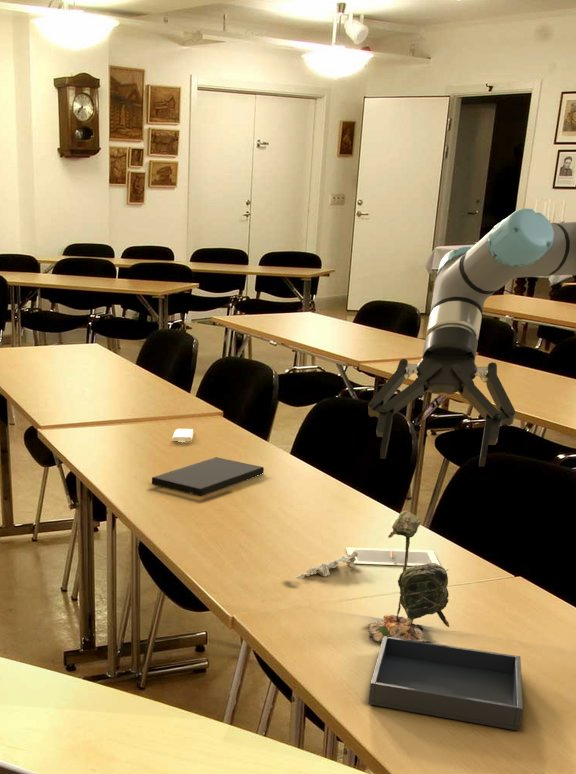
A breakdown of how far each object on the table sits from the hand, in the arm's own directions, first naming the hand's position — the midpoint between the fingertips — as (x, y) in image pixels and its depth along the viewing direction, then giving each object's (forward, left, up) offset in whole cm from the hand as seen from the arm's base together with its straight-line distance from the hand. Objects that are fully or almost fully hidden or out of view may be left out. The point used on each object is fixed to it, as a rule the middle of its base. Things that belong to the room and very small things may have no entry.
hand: (431, 458), depth 133 cm
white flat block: (+64, -86, -24) cm, 110 cm away
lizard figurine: (+15, -9, -24) cm, 30 cm away
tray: (-6, +26, -24) cm, 36 cm away
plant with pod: (0, +11, -25) cm, 27 cm away
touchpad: (+5, -21, -25) cm, 33 cm away
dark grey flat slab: (+49, -59, -24) cm, 81 cm away
